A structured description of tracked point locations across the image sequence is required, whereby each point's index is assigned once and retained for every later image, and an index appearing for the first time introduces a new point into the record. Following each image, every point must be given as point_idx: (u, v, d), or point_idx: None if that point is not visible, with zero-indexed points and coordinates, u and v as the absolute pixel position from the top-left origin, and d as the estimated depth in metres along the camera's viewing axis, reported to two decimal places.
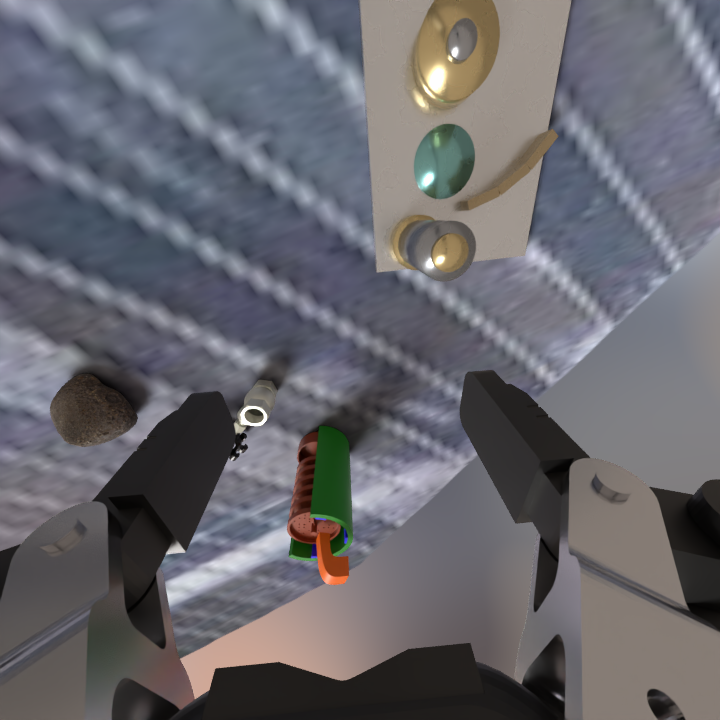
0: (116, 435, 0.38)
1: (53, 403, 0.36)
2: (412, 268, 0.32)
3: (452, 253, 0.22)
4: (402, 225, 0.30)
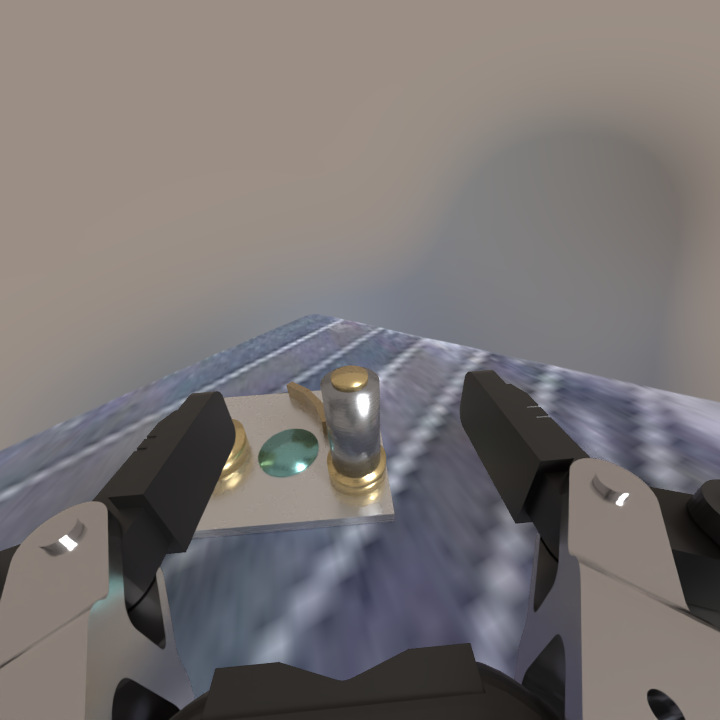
0: None
1: None
2: (384, 460, 0.26)
3: (349, 374, 0.22)
4: (335, 474, 0.25)
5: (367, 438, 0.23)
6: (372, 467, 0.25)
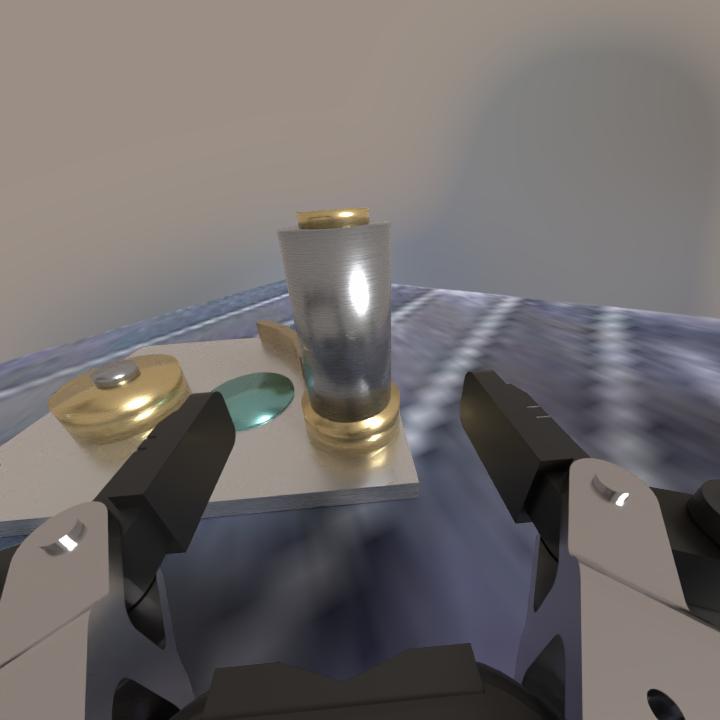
0: None
1: None
2: (397, 398, 0.15)
3: None
4: (313, 419, 0.14)
5: (369, 337, 0.12)
6: (378, 404, 0.14)
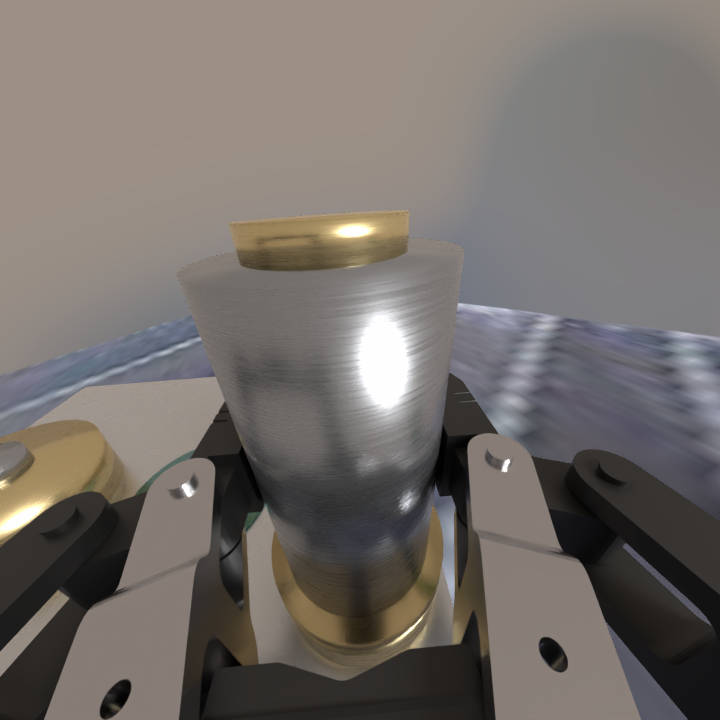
0: None
1: None
2: (438, 542, 0.09)
3: (320, 215, 0.05)
4: (289, 599, 0.08)
5: (402, 501, 0.05)
6: (410, 579, 0.07)
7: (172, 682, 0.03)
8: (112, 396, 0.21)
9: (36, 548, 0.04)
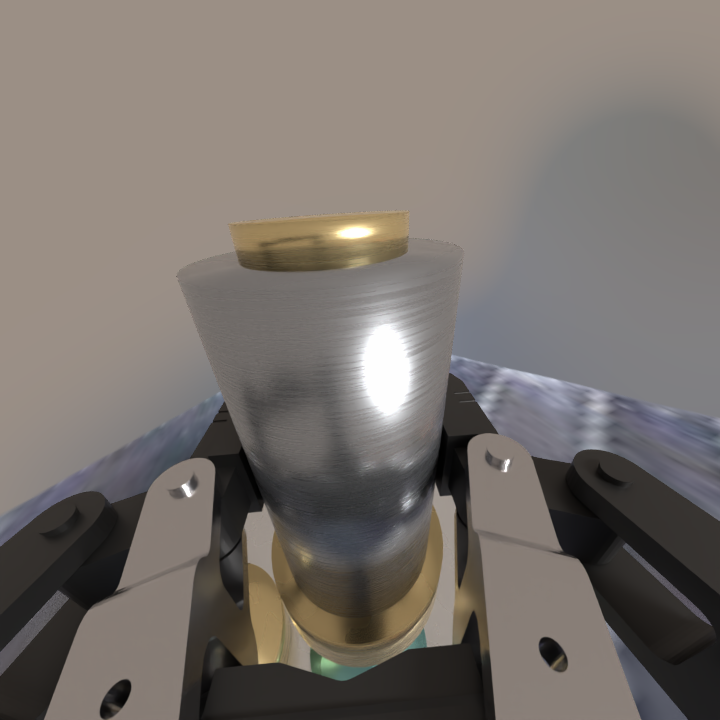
0: None
1: None
2: (438, 543, 0.09)
3: (320, 216, 0.05)
4: (289, 599, 0.08)
5: (402, 502, 0.05)
6: (410, 579, 0.07)
7: (172, 682, 0.03)
8: None
9: (35, 549, 0.04)
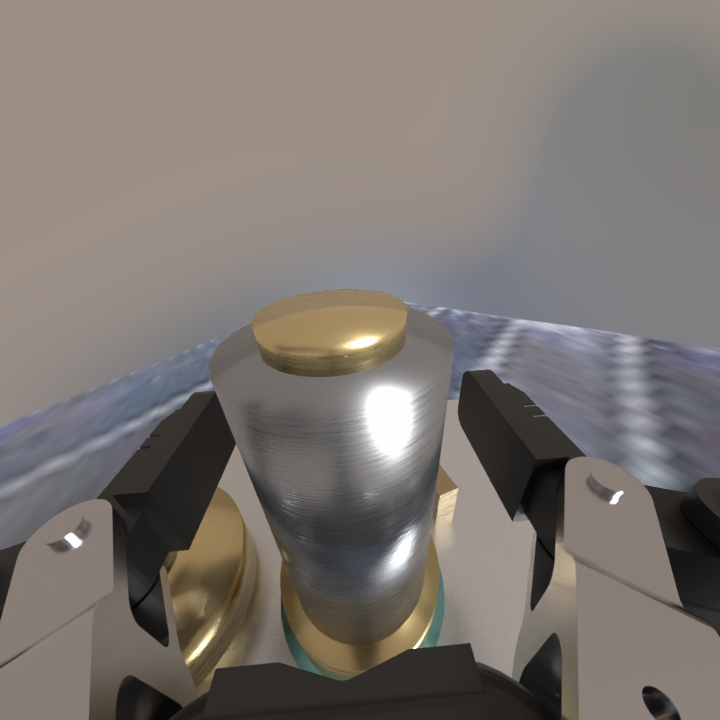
0: None
1: None
2: (435, 572, 0.10)
3: (329, 308, 0.05)
4: (297, 626, 0.09)
5: (401, 552, 0.06)
6: (408, 610, 0.08)
7: None
8: None
9: None
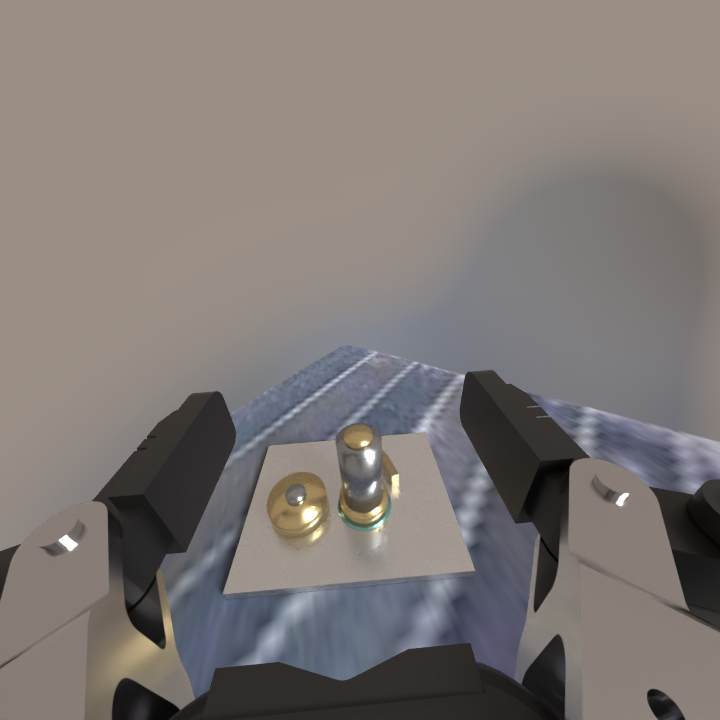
0: None
1: None
2: (386, 497, 0.32)
3: (357, 434, 0.28)
4: (346, 509, 0.31)
5: (372, 483, 0.28)
6: (377, 504, 0.31)
7: None
8: (288, 452, 0.42)
9: None
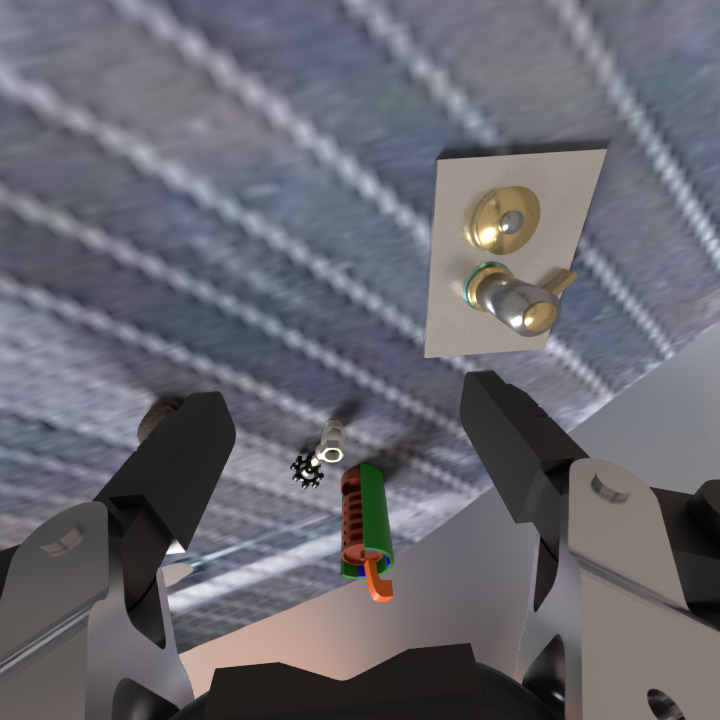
0: None
1: (140, 430, 0.43)
2: (484, 311, 0.36)
3: (541, 317, 0.27)
4: (482, 276, 0.34)
5: (493, 312, 0.32)
6: (479, 304, 0.35)
7: None
8: (581, 186, 0.32)
9: None
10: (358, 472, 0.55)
